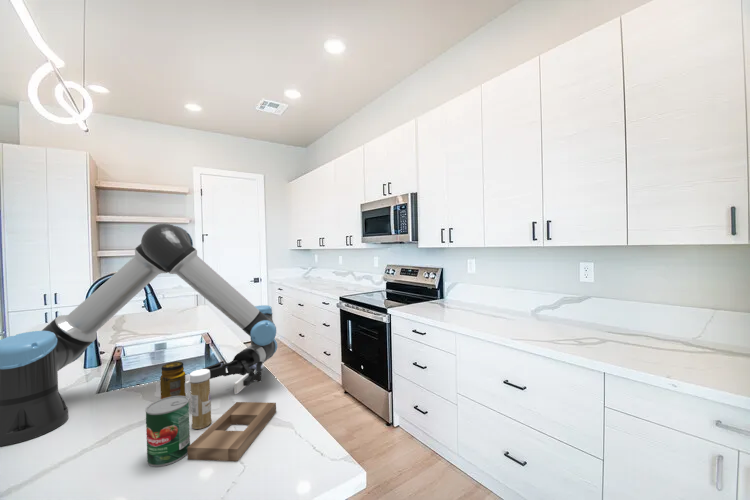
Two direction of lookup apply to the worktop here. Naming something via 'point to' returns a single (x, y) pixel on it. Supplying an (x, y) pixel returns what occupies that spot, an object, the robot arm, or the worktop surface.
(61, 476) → the worktop surface
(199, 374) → the sprinkles bottle
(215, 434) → the hole board
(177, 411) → the canned tomato
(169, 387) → the condiment
